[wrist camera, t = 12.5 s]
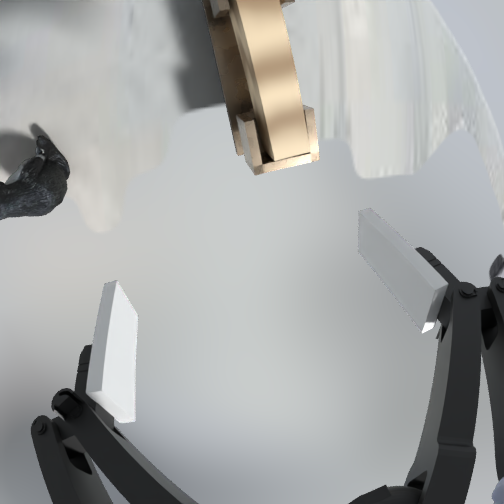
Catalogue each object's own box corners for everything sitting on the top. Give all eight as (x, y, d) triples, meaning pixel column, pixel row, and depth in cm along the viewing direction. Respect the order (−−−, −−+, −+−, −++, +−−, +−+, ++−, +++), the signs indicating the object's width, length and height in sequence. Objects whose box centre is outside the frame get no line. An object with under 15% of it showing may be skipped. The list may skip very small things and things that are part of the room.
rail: (222, -12, 23) (229, -24, 19) (258, -18, 24) (271, -29, 20) (262, 148, 35) (274, 161, 31) (294, 140, 35) (310, 151, 31)
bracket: (197, -17, 27) (204, -43, 18) (259, -26, 27) (285, -50, 19) (236, 153, 41) (253, 180, 33) (291, 141, 42) (322, 163, 33)
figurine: (27, 125, 31) (-31, 158, 19) (86, 140, 35) (45, 179, 23) (16, 186, 35) (-32, 239, 23) (71, 202, 39) (36, 262, 27)
